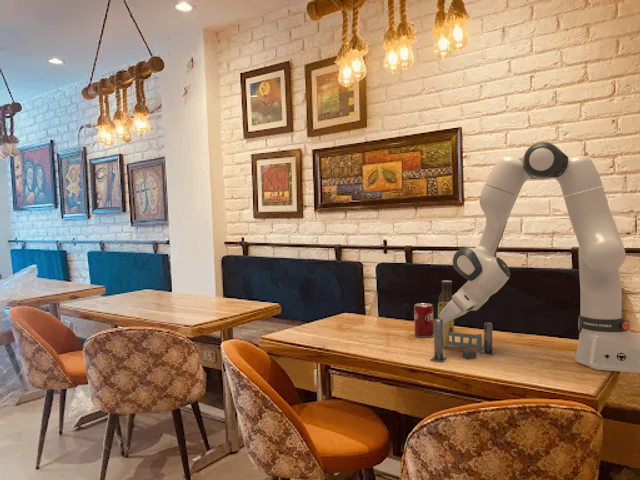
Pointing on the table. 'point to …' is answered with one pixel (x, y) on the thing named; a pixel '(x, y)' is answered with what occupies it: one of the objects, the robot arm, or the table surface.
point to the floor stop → (469, 354)
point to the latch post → (438, 341)
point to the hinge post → (488, 340)
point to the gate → (461, 335)
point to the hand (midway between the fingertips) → (443, 323)
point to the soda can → (424, 320)
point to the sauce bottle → (445, 299)
